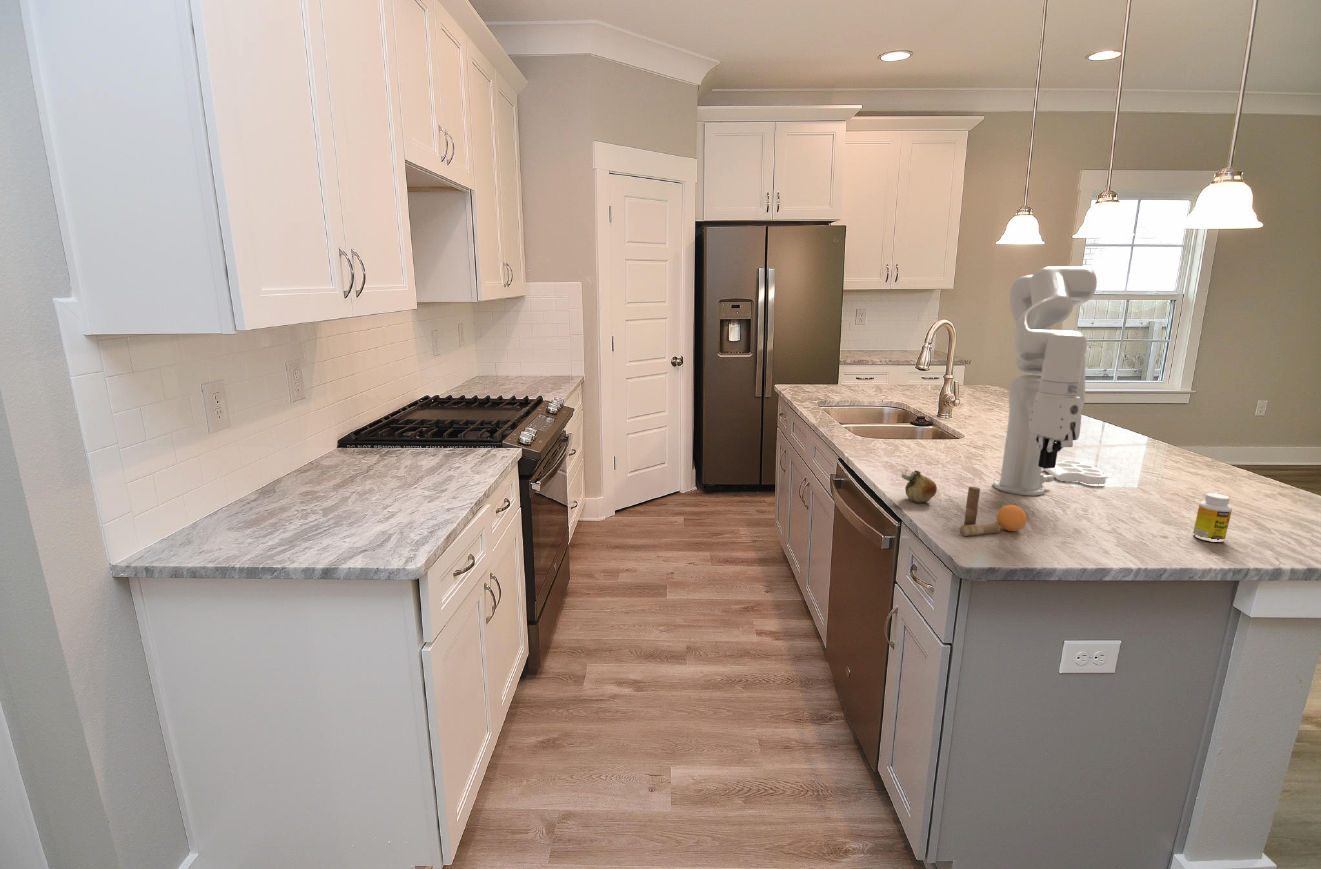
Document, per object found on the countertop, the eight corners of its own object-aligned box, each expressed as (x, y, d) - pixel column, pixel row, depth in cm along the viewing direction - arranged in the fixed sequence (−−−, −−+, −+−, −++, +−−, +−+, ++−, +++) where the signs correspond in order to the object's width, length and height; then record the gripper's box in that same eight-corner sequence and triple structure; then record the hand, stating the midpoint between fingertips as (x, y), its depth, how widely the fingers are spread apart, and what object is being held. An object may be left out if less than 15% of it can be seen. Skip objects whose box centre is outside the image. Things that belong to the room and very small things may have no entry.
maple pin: (1000, 523, 146) (967, 526, 143) (1000, 533, 146) (967, 537, 144) (992, 521, 148) (959, 524, 146) (991, 531, 148) (959, 535, 146)
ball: (987, 513, 149) (994, 527, 152) (1009, 525, 143) (1016, 540, 147) (1006, 495, 149) (1012, 510, 152) (1028, 507, 144) (1035, 522, 147)
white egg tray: (1036, 469, 201) (1087, 471, 199) (1062, 486, 184) (1118, 489, 181) (1038, 458, 200) (1089, 461, 198) (1064, 475, 183) (1120, 478, 181)
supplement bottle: (1211, 544, 142) (1221, 500, 139) (1186, 535, 147) (1195, 492, 145) (1231, 542, 143) (1241, 498, 141) (1205, 533, 148) (1214, 491, 146)
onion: (916, 507, 163) (919, 477, 161) (896, 497, 171) (899, 468, 169) (941, 505, 165) (945, 475, 163) (921, 495, 172) (924, 466, 171)
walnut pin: (970, 522, 153) (975, 486, 151) (977, 526, 151) (982, 489, 149) (961, 523, 152) (966, 487, 150) (968, 527, 150) (973, 490, 148)
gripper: (1101, 393, 139) (1087, 475, 143) (1045, 383, 153) (1034, 458, 157) (1073, 394, 137) (1060, 477, 141) (1019, 384, 151) (1008, 459, 155)
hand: (1046, 467), depth 149 cm, fingers closed
